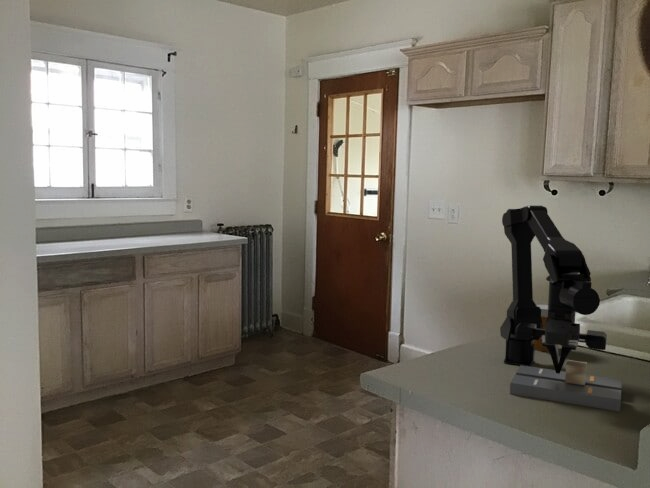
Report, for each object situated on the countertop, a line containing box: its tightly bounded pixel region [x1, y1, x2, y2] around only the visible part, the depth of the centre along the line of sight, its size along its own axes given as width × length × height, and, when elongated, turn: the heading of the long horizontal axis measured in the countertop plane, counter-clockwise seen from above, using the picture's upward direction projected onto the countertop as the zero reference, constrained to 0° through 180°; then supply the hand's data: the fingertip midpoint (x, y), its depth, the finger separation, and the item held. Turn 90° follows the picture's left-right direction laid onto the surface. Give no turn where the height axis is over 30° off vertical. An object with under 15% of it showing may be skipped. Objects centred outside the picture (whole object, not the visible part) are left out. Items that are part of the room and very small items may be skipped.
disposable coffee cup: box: [533, 302, 549, 352], centre depth 170 cm, size 10×10×12 cm
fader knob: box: [565, 359, 588, 385], centre depth 136 cm, size 4×4×6 cm
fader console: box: [509, 365, 623, 412], centre depth 137 cm, size 22×14×3 cm, turn 64°
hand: (557, 373), depth 137 cm, fingers closed
